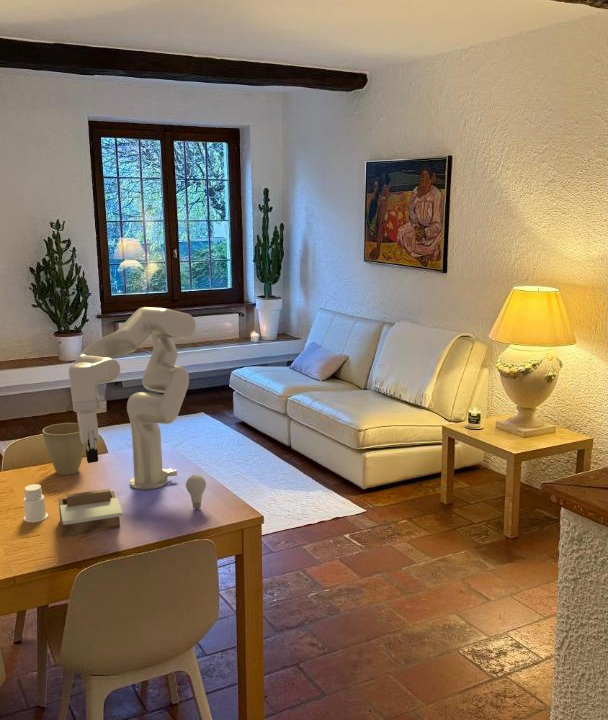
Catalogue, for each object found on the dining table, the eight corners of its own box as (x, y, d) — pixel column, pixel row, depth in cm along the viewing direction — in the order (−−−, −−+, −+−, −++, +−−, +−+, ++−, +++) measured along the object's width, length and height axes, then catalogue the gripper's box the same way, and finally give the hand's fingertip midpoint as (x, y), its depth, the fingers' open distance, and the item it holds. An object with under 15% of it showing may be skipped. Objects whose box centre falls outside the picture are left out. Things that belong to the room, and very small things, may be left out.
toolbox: (114, 512, 228) (113, 491, 226) (120, 527, 217) (118, 505, 215) (60, 520, 222) (58, 498, 221) (62, 536, 211) (61, 513, 210)
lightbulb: (210, 506, 232) (209, 473, 229) (201, 514, 226) (200, 480, 224) (192, 504, 234) (191, 471, 231) (183, 511, 228) (182, 477, 226)
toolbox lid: (117, 500, 219) (116, 487, 218) (122, 515, 208) (122, 502, 207) (60, 508, 213) (59, 495, 212) (63, 524, 202) (61, 511, 201)
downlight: (29, 512, 229) (26, 481, 226) (52, 512, 228) (49, 482, 226) (19, 524, 221) (15, 492, 218) (42, 524, 221) (39, 493, 218)
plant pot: (82, 478, 256) (79, 434, 253) (39, 479, 257) (36, 434, 254) (94, 464, 271) (92, 422, 268) (54, 464, 271) (51, 422, 268)
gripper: (70, 399, 226) (77, 455, 231) (75, 413, 213) (82, 472, 217) (95, 395, 229) (102, 451, 234) (102, 409, 215) (108, 468, 220)
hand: (92, 461), depth 225 cm, fingers closed
